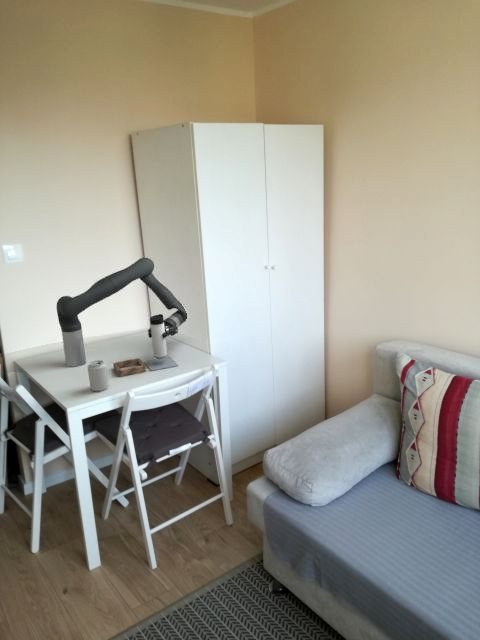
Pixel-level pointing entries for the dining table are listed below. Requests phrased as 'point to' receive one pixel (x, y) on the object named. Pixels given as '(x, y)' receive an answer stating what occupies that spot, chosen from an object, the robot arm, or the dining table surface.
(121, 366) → the frame
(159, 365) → the rubber mat
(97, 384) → the can
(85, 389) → the dining table surface
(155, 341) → the travel mug
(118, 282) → the robot arm
